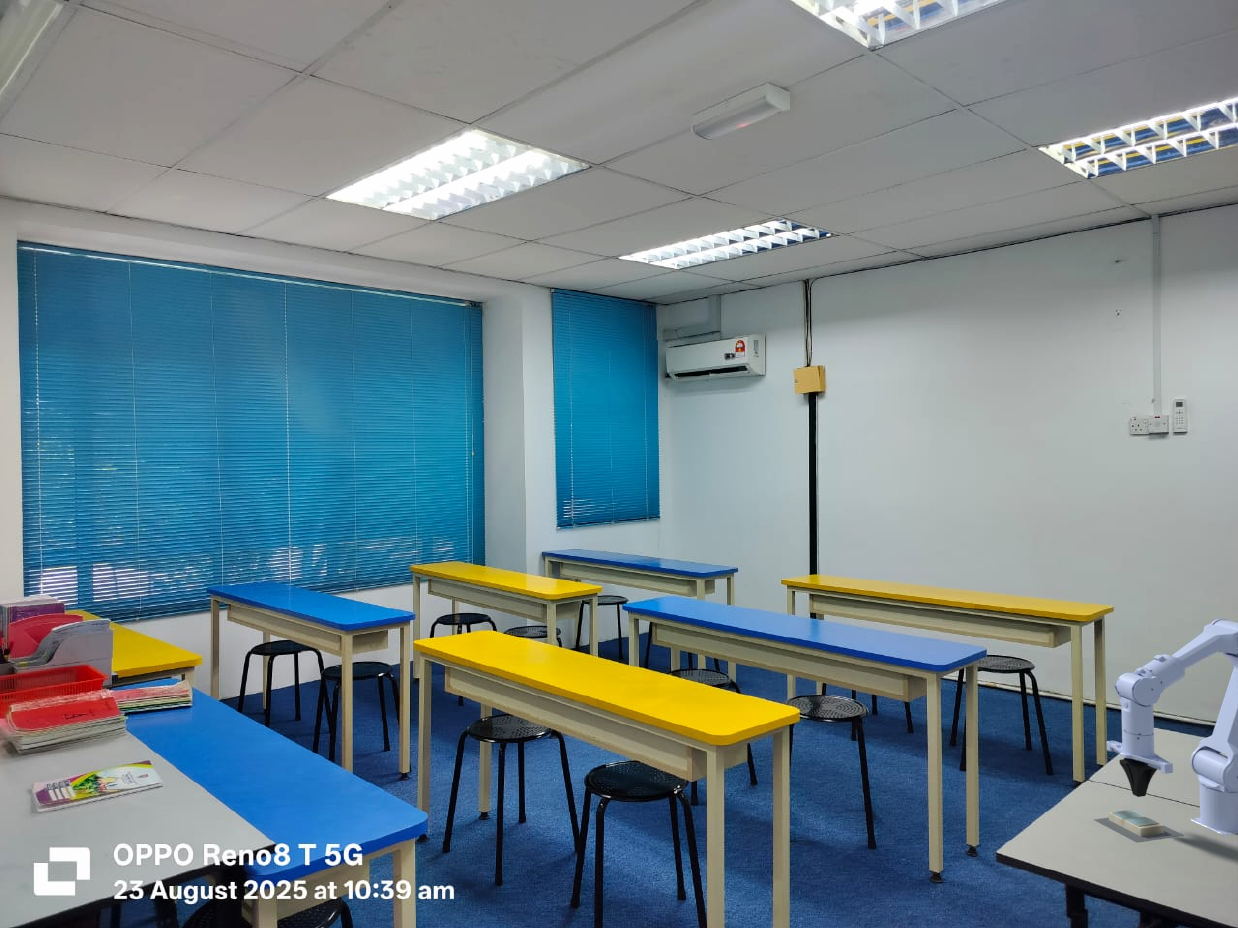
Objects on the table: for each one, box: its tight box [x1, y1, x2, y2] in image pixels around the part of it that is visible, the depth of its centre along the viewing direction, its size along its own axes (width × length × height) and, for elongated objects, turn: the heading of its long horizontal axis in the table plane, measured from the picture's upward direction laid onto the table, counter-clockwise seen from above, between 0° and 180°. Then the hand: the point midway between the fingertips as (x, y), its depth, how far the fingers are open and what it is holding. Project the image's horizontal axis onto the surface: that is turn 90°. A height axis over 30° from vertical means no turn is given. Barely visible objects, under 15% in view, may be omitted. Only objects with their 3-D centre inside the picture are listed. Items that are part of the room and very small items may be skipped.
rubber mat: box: [1093, 816, 1185, 843], centre depth 170 cm, size 12×11×1 cm
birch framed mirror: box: [1108, 809, 1165, 836], centre depth 171 cm, size 6×2×8 cm
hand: (1139, 795), depth 170 cm, fingers closed
